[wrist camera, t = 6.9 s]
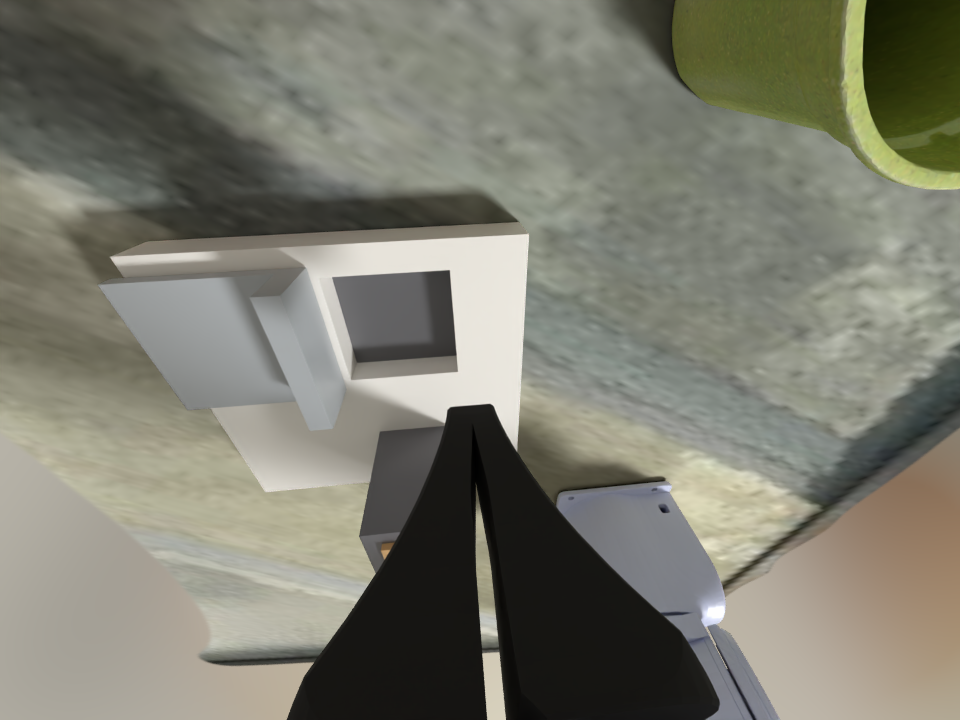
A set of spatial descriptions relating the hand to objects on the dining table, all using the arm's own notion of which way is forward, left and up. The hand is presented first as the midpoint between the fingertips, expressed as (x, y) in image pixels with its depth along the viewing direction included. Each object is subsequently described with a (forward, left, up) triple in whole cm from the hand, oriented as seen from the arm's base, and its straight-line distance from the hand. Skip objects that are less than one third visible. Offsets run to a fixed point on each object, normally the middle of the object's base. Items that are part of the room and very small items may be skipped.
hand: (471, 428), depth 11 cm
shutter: (+10, 0, -6) cm, 12 cm away
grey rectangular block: (+3, +8, -6) cm, 11 cm away
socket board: (+5, +3, -8) cm, 10 cm away
